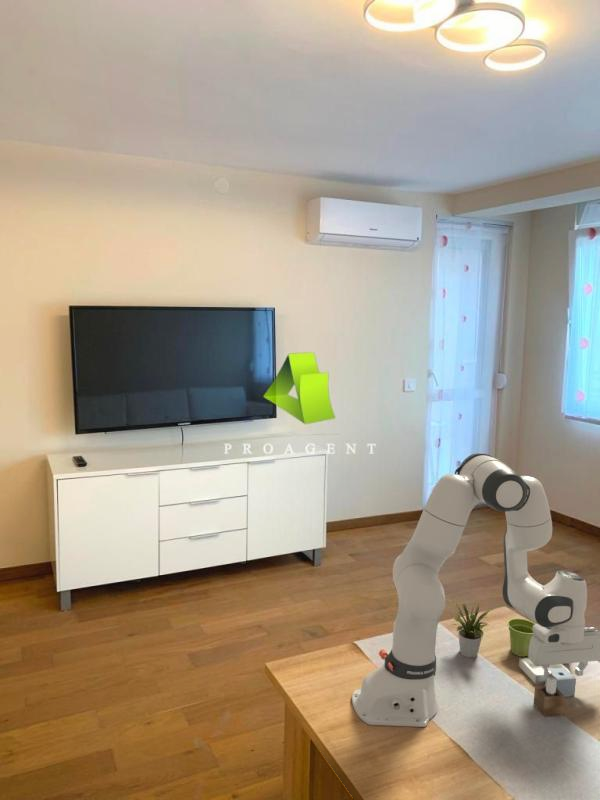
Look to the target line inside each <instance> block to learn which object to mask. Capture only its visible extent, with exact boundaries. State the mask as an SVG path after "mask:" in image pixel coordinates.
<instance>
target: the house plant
mask: <svg viewBox="0 0 600 800" xmlns="http://www.w3.org/2000/svg"><path fill="white" fill-rule="evenodd" d="M449 601H450V602H452V603H453V604H454V605H455V607H456V608H457V610H458V611H457V610H455V611H450V613H453V614H455V613H456V616H454V617H453V620H455V621H456V622H459V624H461V625H458V626H457V624H455V623H453V625H455V626H457V627H456V632H457V633H458V643H459V653H460V652H461V653H460V654H461V655H462V654H463V655H462V656H464V655H465V656H464V657H466V656H468V657H467V658H476V657H478V654H479V650H480V645H481V642H482V639H483V636H484V635H485V633H484V631H483V630H482V629H483V628H484V627H487V626H488V625H489V623H487V622H484V621H483V622H482V621H481V620H482V619H488V616H487V615H488V613H490V612H492V611H493V610H494V608H491V609H488V610H485V611H484V612H483V613H482V614H481V615H480V616H478V614H479V611H480V608H479V607H480V604H479V603H478V605H477V606H476V609H475V611H474V612H473V610H474V607H475V605H476V604H477V602H475V603H474V604H473V606H472V609H471V612H470V614H469V611H468V609H467V605H466V604H465V602H464V601H463V600H461V601H460V603H461V605H462V607H463V611H464V613H465V617H466V618H465V617H464V614H463V612H462V610H461V609H460V607H459V605H458V604H457V603H456V602H455V601H453V600H450V599H449ZM477 616H478V618H477ZM485 616H486V617H485ZM462 619H463V620H462ZM476 619H477V620H476ZM475 656H476V657H475Z"/></svg>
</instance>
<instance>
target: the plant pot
mask: <svg viewBox="0 0 600 800" xmlns="http://www.w3.org/2000/svg"><path fill="white" fill-rule="evenodd" d="M535 624H536V623H535V622H534V621H532V620H530V619H525V618H511V619H509V620H508V621H507V626H508V630H509V642H510V651H511V652H512V653H513V654H514V655H516V656H519V657H523V658H525V657H526V656H527V657H528V652H529V644H530V639H531V637H532V636H533V635H534V632H533V631H532V627H533V626H534V625H535Z"/></svg>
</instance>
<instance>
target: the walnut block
mask: <svg viewBox="0 0 600 800" xmlns="http://www.w3.org/2000/svg"><path fill="white" fill-rule="evenodd" d="M545 693H546V686H545V685H539V686H534V695H533V706H534V707H536V709H537V710H538V711H539V712H540V713H541V714H542V715H543V716H544V718H547V716H549V717H557V716H559V715H560V716H564V715H565V710H566V699H567V698H566V697H567V696H564V695H563V694H562V693H561V692H560V691H559V690H558V689H557V688H556V693H555V696H549V697H548V696H547V695H546V694H545Z"/></svg>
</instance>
